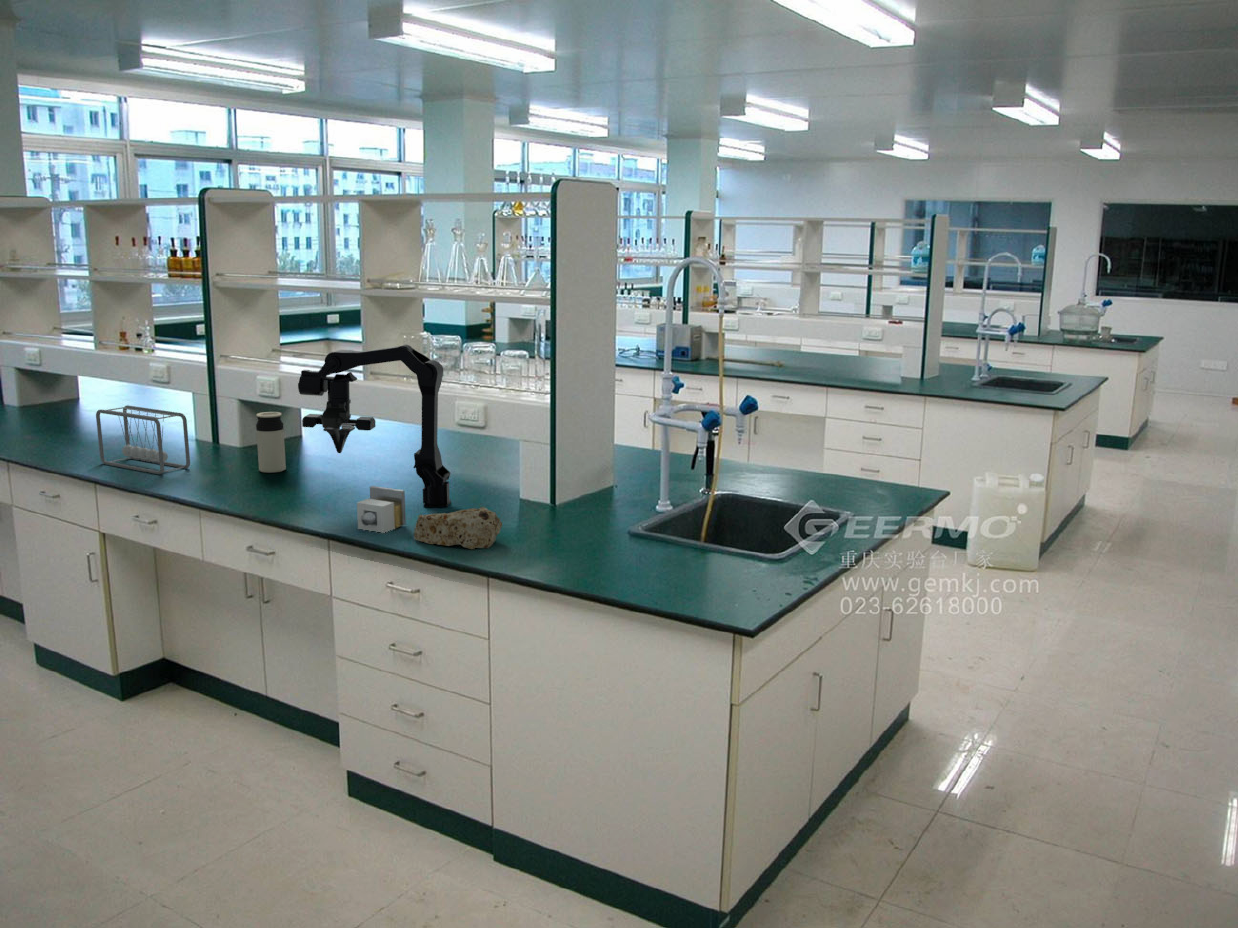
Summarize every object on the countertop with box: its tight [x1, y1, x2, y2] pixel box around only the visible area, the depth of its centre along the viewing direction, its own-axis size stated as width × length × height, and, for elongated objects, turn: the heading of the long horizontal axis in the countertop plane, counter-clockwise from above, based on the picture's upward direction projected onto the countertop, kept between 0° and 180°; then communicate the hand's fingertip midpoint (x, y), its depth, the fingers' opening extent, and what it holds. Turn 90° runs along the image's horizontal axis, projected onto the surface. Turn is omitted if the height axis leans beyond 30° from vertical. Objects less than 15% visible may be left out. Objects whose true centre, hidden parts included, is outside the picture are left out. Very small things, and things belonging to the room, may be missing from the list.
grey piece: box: [361, 485, 407, 527], centre depth 252 cm, size 9×10×9 cm
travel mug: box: [255, 411, 287, 474], centre depth 311 cm, size 8×8×18 cm
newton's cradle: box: [95, 404, 191, 475], centre depth 313 cm, size 30×10×18 cm, turn 61°
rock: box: [413, 506, 503, 550], centre depth 244 cm, size 21×14×10 cm
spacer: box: [394, 504, 402, 529], centre depth 255 cm, size 2×9×6 cm, turn 66°
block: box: [356, 498, 396, 534], centre depth 252 cm, size 4×8×7 cm, turn 65°
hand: (339, 452), depth 275 cm, fingers closed
